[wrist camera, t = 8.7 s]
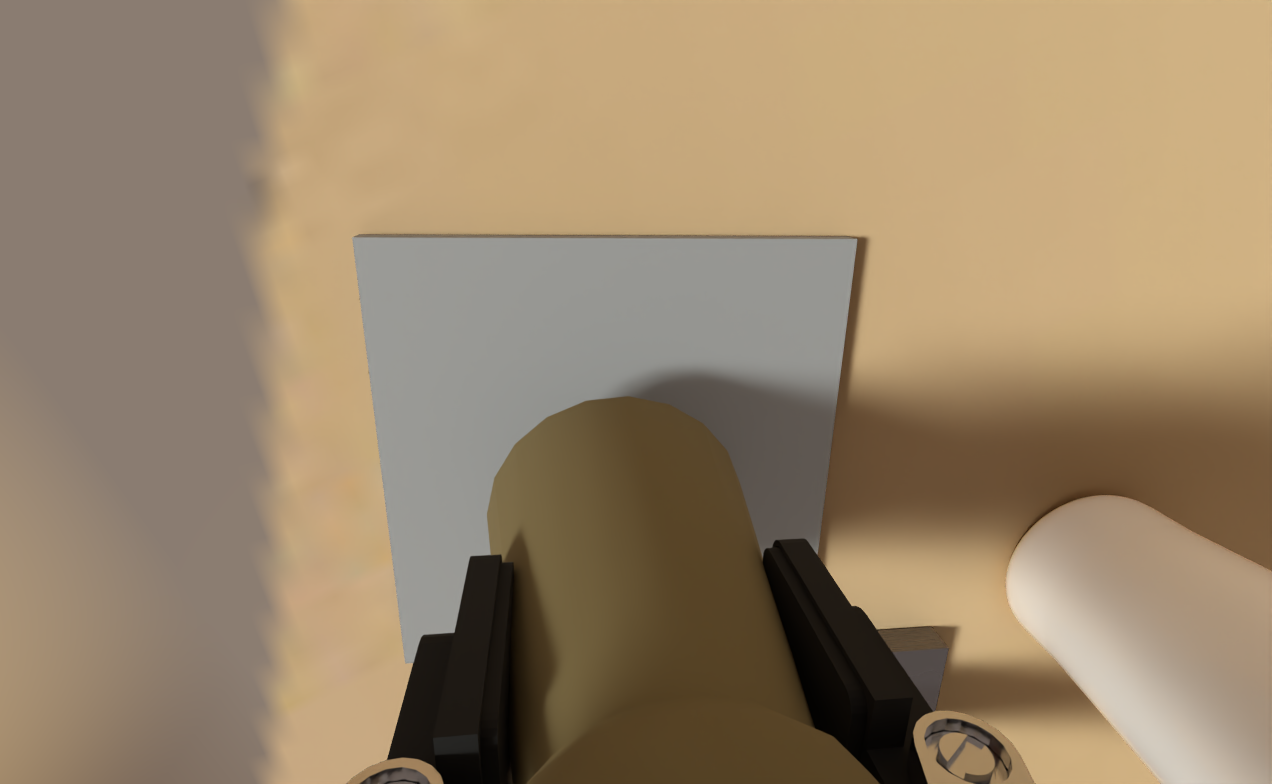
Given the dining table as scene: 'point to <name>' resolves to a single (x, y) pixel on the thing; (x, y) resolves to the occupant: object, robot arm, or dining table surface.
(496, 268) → the mat
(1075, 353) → the dining table surface
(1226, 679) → the drinking glass
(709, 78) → the dining table surface
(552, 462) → the olive rounded tall piece
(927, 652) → the ring stand
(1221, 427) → the dining table surface
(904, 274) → the dining table surface
